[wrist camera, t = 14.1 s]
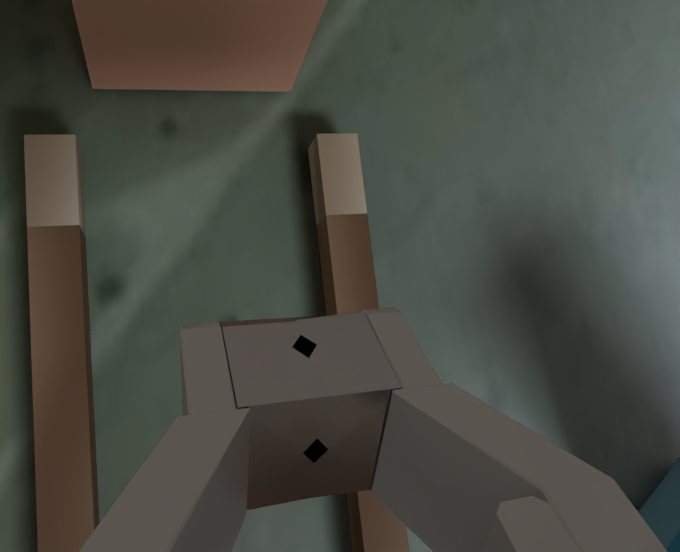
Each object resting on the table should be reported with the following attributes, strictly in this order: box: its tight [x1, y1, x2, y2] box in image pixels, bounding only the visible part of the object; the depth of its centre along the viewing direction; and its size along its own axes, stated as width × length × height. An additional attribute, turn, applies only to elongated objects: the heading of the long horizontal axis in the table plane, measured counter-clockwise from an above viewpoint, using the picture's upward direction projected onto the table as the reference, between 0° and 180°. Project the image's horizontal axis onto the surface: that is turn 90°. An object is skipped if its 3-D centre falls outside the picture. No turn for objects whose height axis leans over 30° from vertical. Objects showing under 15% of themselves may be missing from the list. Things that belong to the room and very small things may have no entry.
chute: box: [24, 134, 409, 552], centre depth 20 cm, size 11×23×2 cm, turn 6°
